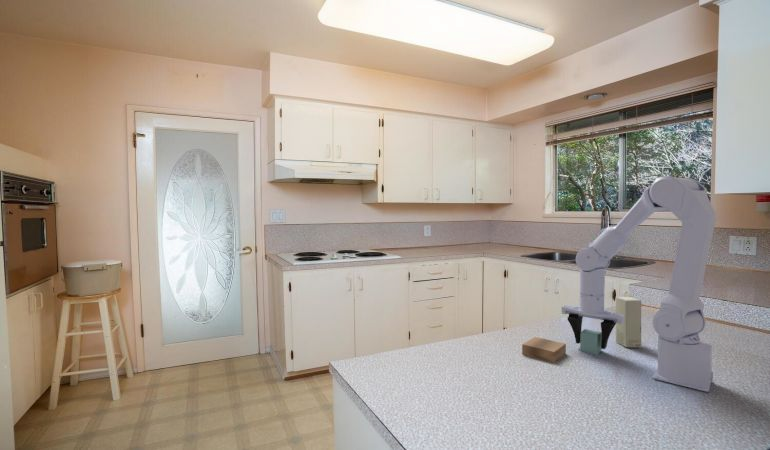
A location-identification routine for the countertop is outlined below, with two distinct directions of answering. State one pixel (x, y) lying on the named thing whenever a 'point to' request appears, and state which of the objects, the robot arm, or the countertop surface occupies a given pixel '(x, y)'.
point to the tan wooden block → (544, 349)
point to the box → (629, 322)
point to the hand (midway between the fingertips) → (590, 345)
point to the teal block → (590, 341)
